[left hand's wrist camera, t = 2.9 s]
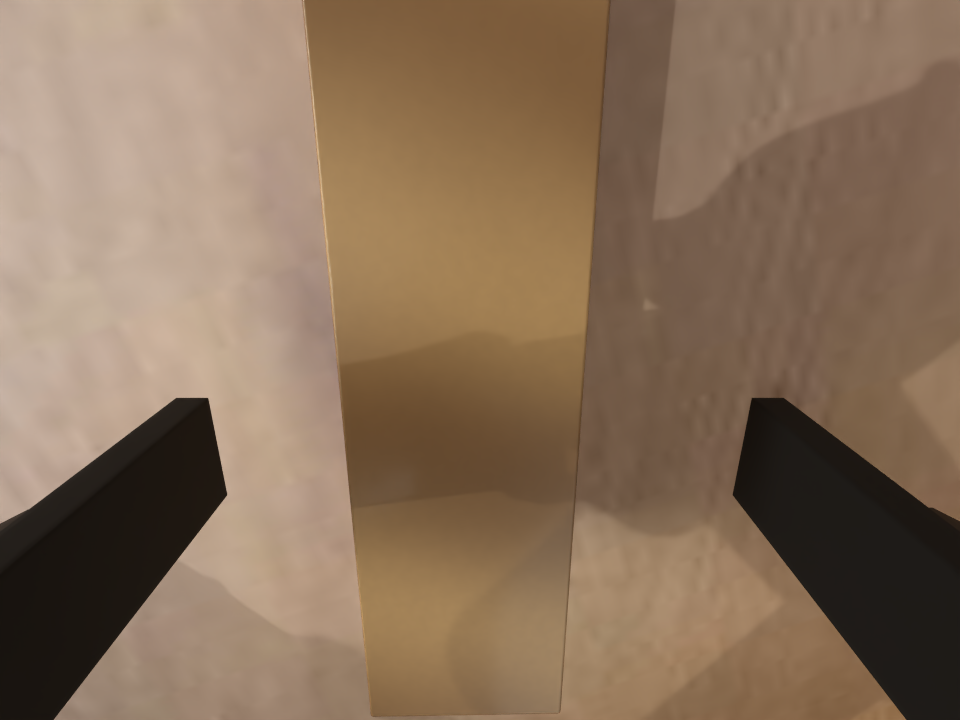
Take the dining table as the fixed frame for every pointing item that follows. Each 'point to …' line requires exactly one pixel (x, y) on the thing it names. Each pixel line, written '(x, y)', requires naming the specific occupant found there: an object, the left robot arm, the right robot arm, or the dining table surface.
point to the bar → (460, 328)
